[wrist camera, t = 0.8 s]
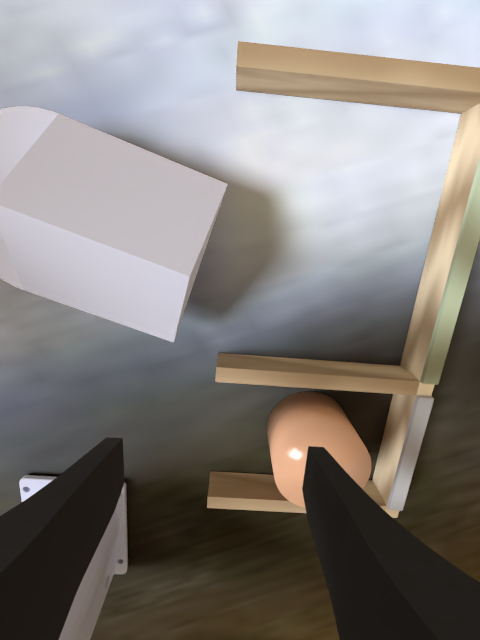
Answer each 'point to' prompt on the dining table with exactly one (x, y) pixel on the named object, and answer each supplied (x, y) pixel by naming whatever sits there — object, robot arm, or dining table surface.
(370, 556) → the robot arm
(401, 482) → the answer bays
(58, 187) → the wedge on round base
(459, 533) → the dining table surface
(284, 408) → the tan smooth rounded piece
